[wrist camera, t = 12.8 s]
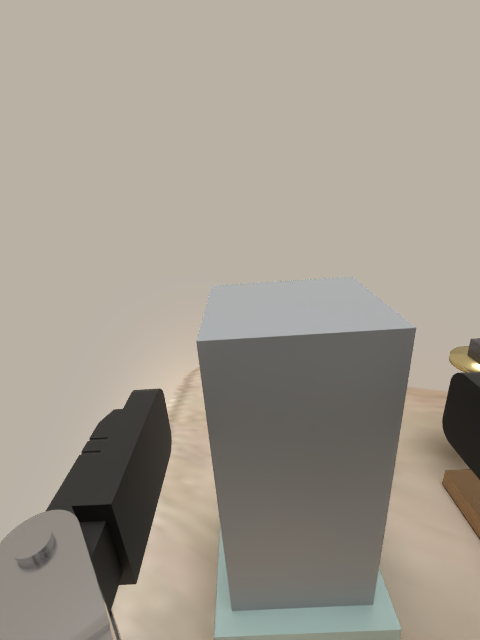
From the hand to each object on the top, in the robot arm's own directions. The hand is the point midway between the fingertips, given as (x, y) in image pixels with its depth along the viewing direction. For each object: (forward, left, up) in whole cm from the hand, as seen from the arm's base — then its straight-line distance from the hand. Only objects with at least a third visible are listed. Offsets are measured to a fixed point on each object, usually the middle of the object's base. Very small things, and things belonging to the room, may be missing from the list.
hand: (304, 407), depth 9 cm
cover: (0, -3, -10) cm, 10 cm away
